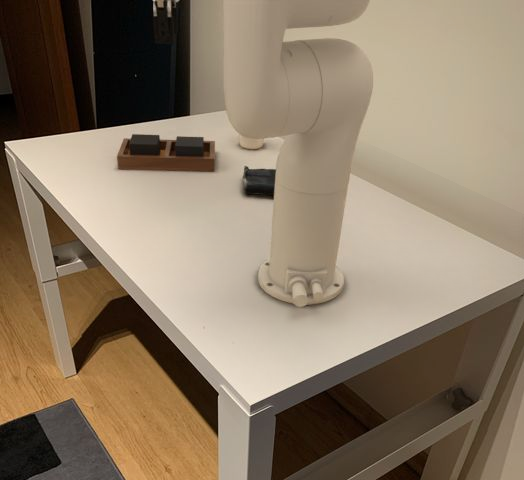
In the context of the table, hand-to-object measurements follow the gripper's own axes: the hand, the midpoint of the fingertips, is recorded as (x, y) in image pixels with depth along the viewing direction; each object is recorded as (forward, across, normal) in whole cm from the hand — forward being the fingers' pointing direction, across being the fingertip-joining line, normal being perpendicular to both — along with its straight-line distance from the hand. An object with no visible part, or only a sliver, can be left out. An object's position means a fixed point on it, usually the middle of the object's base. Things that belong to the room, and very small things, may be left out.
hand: (166, 38), depth 97 cm
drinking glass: (+23, +13, -16) cm, 31 cm away
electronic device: (+24, -10, -21) cm, 33 cm away
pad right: (+22, +3, -3) cm, 23 cm away
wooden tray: (+23, +3, +2) cm, 23 cm away
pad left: (+22, +3, +6) cm, 23 cm away
